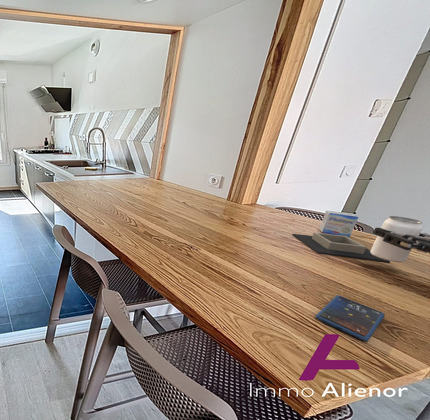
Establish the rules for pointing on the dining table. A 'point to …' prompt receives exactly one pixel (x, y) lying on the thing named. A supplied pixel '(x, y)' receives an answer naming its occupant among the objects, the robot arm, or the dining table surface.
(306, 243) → the pad
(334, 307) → the smartphone
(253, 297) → the dining table surface
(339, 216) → the medicine box
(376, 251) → the can
